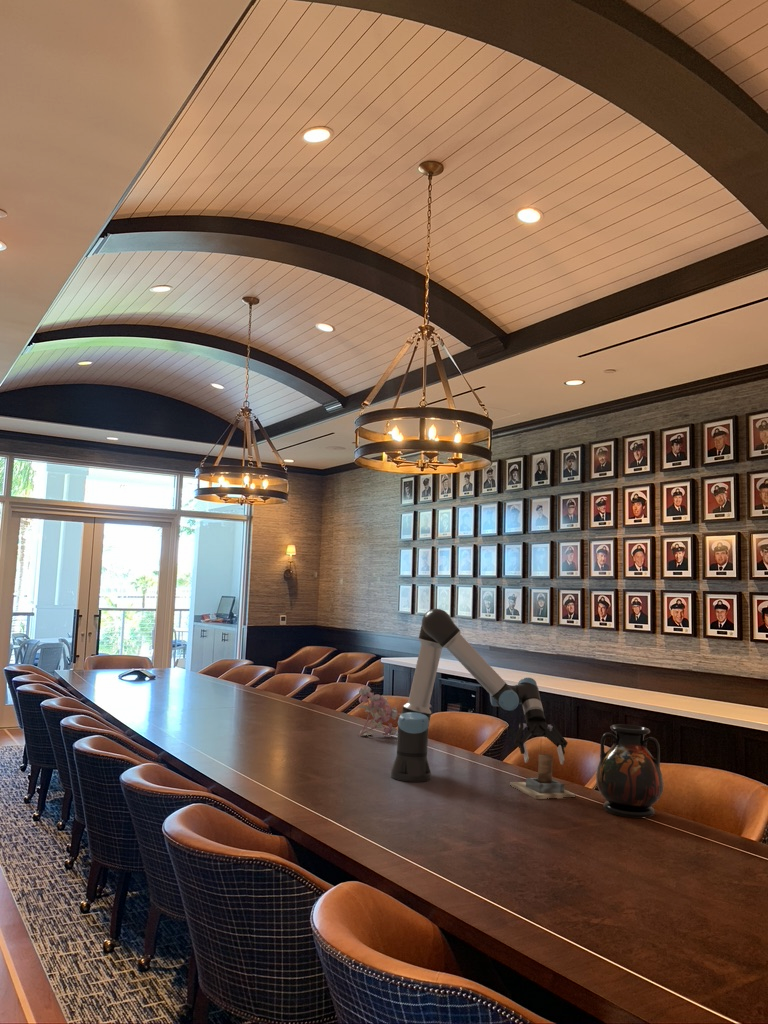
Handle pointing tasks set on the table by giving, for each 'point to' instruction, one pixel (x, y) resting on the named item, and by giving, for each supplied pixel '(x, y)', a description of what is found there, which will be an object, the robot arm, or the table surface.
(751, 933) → the table surface
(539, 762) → the walnut peg
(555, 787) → the maple board
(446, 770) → the table surface
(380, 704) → the flower
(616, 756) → the amphora vase
